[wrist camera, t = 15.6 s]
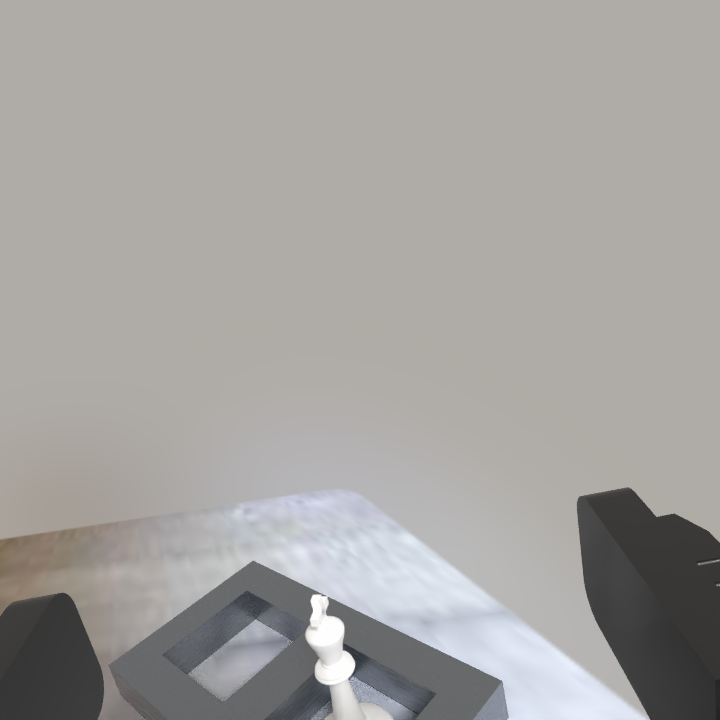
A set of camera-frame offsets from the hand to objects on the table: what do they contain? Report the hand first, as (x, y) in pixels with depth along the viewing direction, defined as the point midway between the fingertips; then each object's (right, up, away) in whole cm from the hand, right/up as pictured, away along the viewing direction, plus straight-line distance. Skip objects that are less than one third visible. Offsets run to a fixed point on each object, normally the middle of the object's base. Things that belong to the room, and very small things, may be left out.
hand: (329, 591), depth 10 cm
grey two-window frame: (-3, -17, +28) cm, 33 cm away
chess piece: (0, -18, +25) cm, 30 cm away
